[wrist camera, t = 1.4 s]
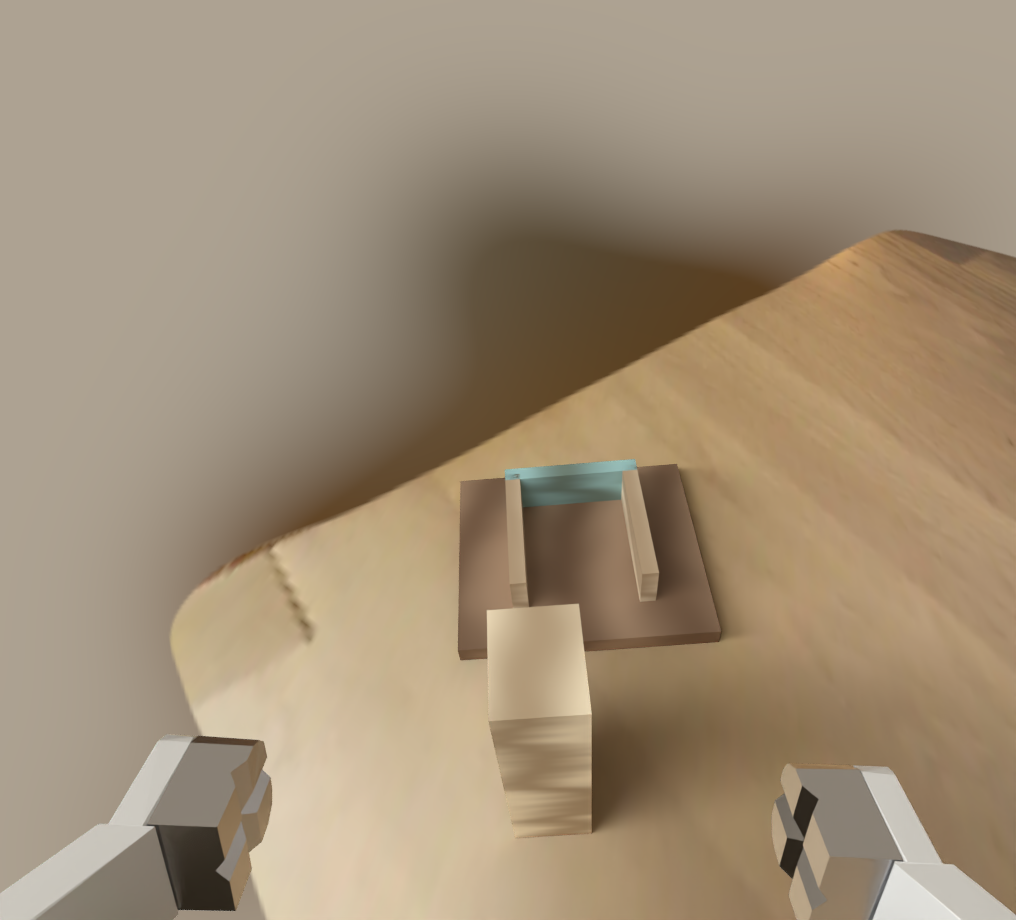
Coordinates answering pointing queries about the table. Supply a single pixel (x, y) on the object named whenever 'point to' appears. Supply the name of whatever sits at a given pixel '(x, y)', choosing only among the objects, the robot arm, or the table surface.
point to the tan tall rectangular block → (541, 718)
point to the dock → (585, 554)
